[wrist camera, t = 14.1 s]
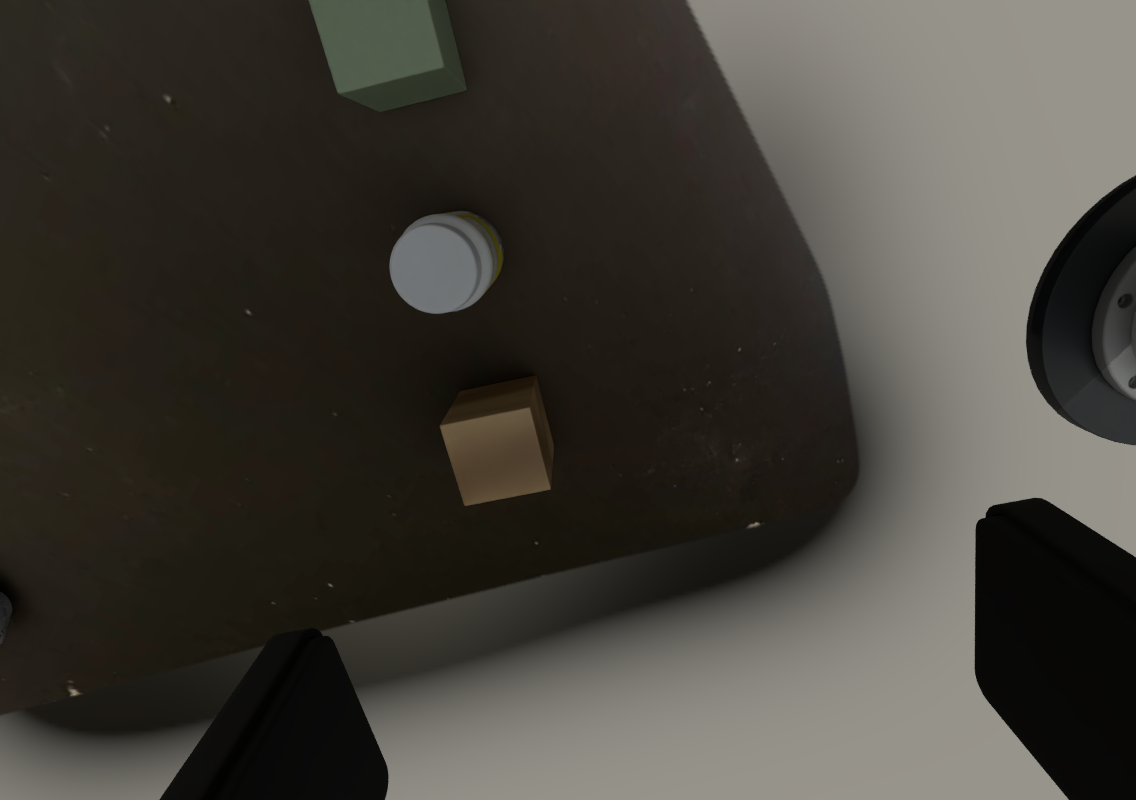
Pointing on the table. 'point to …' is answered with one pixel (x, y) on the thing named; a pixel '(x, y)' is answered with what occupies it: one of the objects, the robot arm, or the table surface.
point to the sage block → (389, 50)
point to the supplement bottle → (446, 261)
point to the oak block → (499, 441)
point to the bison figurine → (4, 615)
